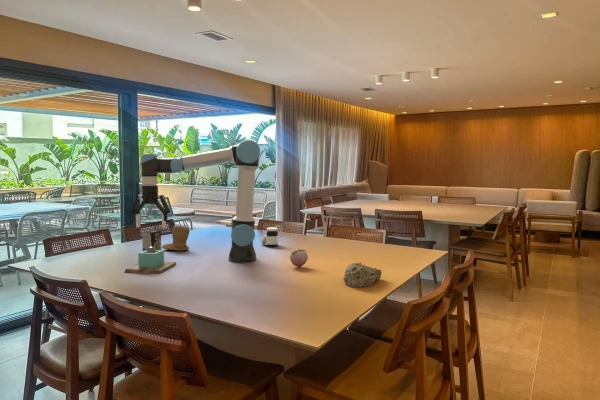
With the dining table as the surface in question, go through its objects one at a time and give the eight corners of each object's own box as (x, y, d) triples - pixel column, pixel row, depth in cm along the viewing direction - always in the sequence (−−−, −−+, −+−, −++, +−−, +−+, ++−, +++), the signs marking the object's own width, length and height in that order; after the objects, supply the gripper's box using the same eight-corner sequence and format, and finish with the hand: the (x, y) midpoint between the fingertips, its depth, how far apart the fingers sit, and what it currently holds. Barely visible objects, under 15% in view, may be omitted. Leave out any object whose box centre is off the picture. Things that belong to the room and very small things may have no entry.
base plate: (176, 264, 220) (176, 261, 220) (160, 273, 202) (160, 270, 202) (143, 263, 223) (143, 260, 222) (125, 272, 205) (125, 269, 205)
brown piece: (194, 249, 261) (193, 225, 260) (181, 252, 250) (180, 227, 249) (174, 247, 267) (174, 223, 266) (161, 250, 256) (160, 226, 255)
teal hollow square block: (164, 263, 216) (163, 250, 216) (155, 267, 207) (155, 253, 207) (147, 263, 217) (147, 249, 217) (138, 267, 209) (138, 253, 208)
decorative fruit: (299, 264, 221) (299, 245, 220) (310, 267, 216) (310, 247, 215) (286, 267, 215) (286, 248, 214) (297, 270, 209) (297, 250, 208)
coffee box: (153, 262, 225) (152, 232, 224) (142, 261, 227) (141, 232, 225) (162, 258, 234) (161, 230, 233) (151, 258, 235) (150, 229, 234)
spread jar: (277, 247, 267) (277, 229, 266) (259, 247, 267) (259, 229, 266) (278, 244, 279) (278, 226, 278) (261, 243, 279) (261, 226, 278)
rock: (352, 276, 201) (357, 256, 200) (380, 287, 195) (386, 267, 194) (336, 282, 183) (342, 260, 182) (367, 295, 177) (374, 272, 176)
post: (157, 267, 214) (156, 246, 213) (153, 269, 210) (152, 247, 209) (149, 267, 215) (149, 245, 214) (145, 269, 211) (145, 247, 210)
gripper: (177, 184, 212) (178, 226, 213) (130, 184, 215) (131, 226, 216) (170, 185, 204) (171, 229, 206) (122, 185, 207) (123, 228, 209)
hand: (151, 227), depth 211 cm, fingers open, 13 cm apart
